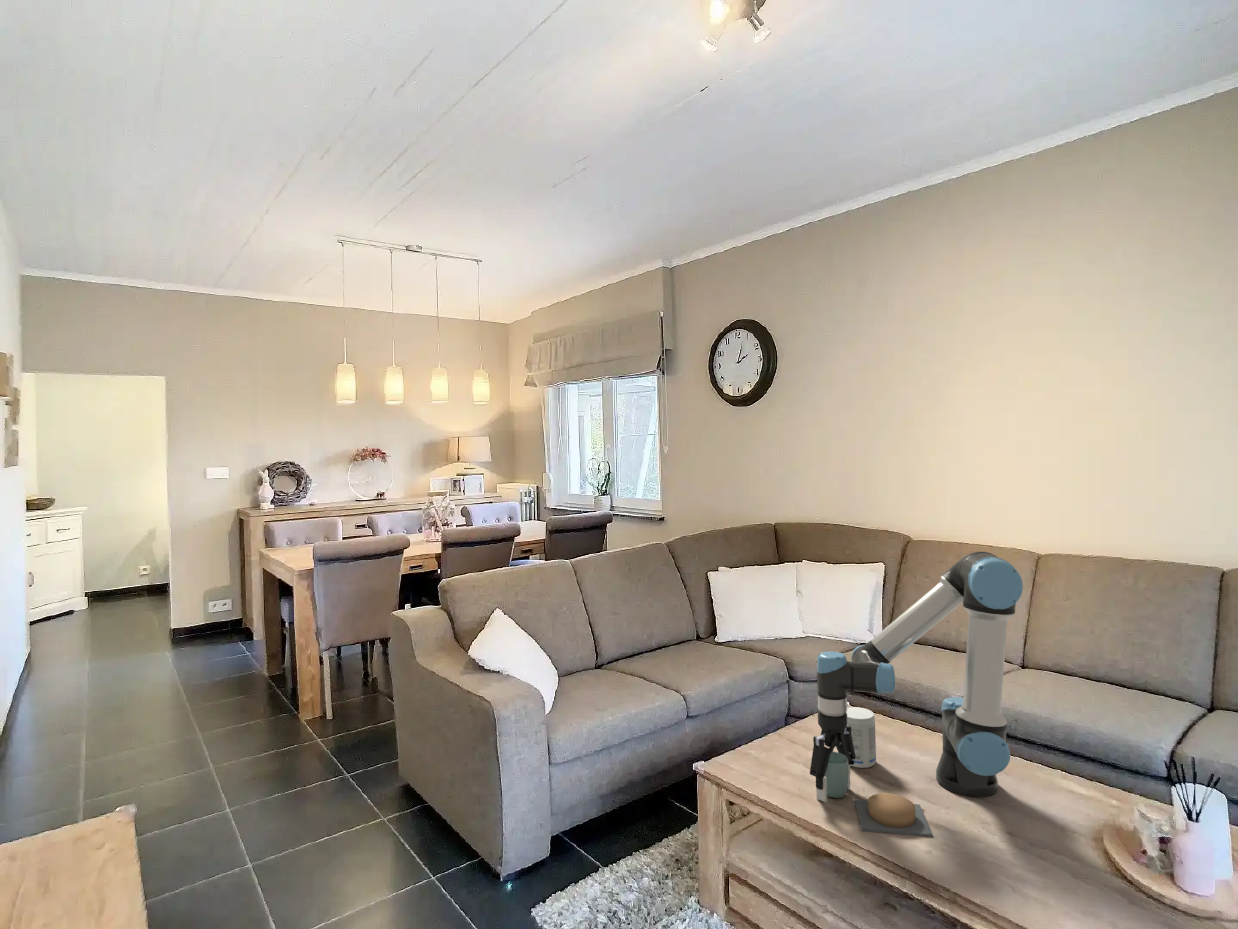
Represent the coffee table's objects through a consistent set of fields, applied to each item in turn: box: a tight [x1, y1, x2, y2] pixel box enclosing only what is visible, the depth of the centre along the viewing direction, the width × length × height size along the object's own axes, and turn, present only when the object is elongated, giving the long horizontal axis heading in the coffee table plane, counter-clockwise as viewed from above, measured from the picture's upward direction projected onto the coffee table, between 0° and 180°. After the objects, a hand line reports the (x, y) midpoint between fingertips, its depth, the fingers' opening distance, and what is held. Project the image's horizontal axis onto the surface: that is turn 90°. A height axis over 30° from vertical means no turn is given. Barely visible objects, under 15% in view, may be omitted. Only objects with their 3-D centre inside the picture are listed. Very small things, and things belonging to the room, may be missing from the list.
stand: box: [854, 792, 934, 838], centre depth 173 cm, size 16×14×4 cm
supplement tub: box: [846, 706, 877, 769], centre depth 204 cm, size 10×10×15 cm
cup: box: [825, 751, 849, 799], centre depth 185 cm, size 8×8×10 cm
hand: (833, 793), depth 185 cm, fingers open, 10 cm apart
